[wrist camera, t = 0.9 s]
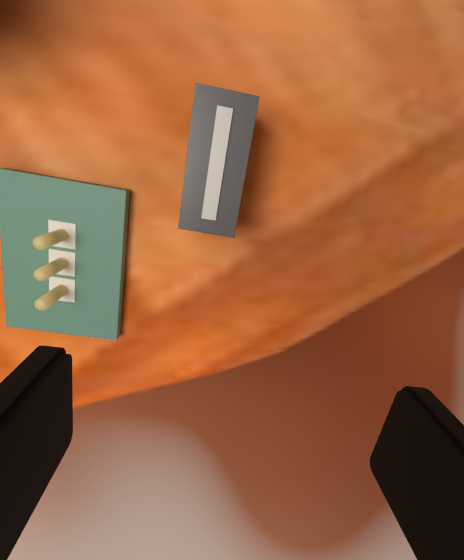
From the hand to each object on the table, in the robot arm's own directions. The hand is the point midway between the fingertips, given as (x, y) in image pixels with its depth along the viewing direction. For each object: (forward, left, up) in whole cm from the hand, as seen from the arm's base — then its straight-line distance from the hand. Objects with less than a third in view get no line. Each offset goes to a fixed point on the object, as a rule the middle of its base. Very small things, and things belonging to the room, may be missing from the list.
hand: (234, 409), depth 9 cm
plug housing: (-7, -2, -21) cm, 22 cm away
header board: (+3, -14, -21) cm, 25 cm away
